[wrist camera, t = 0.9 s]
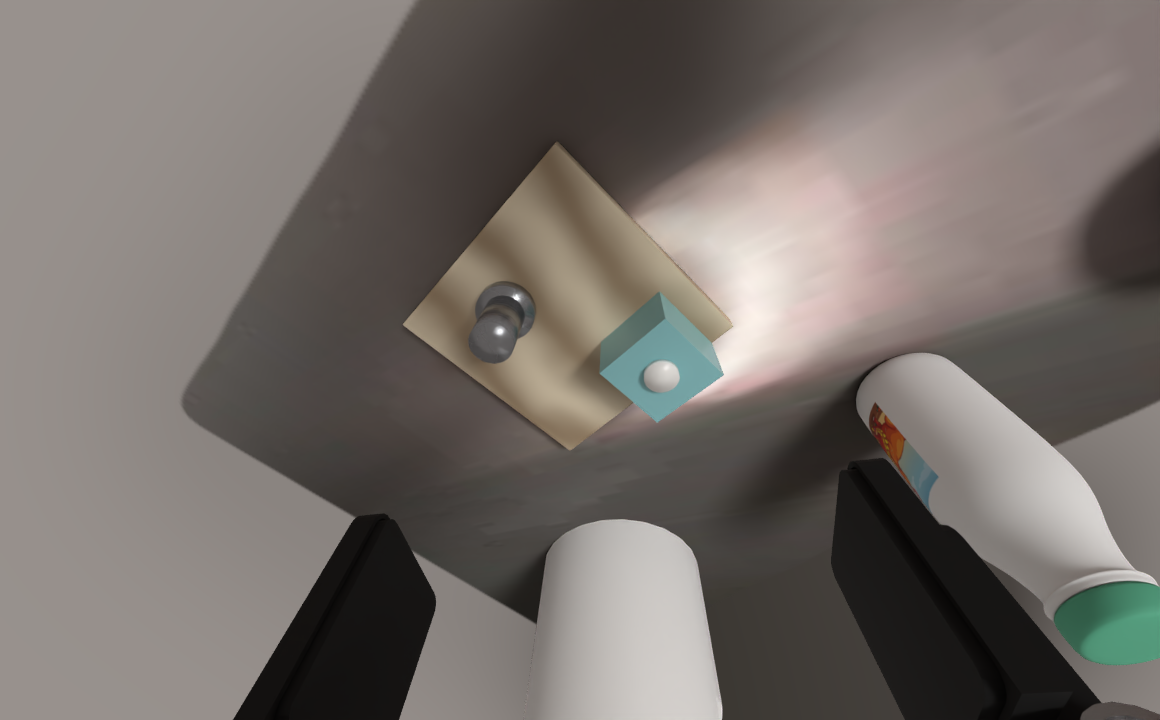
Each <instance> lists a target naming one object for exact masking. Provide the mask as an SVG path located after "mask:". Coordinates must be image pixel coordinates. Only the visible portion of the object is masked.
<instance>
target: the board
mask: <svg viewBox="0 0 1160 720" xmlns="http://www.w3.org/2000/svg"><path fill="white" fill-rule="evenodd" d="M500 281H509V282H513V283H516V284H518V285H520V286H522V287H523V288H525V289H526V290H527V291H528V292H529V293H530V294H531V296H532V297H533V299H534V301H535V305H536V316H535V320H534V323H533V325H532V328H531V329H530V331H529V332H528V333H527V334H526V335H524V336H523V337H521V338H519V339H517V342H516V344H515V347H514V350H513V352H512V354H511V356H510V357H509V358H508V359H507V360H505V361H504V362H501V363H496V364H492V363H487V362H484V361H482V360H480V359H478V358H477V357H476V356H475V355H474V354H473V353H472V352H471V350H470V348H469V344H468V338H469V334H470V332H471V331H472V329H473V327H474V325H475V324H476V322H477V319H476V315H475V306H476V302H477V300H478V298H479V297H480V295H481V293H482V292H483V290H484V289H485V288H486V287H488V286H489V285H491V284H493V283H495V282H500ZM659 291H660V292H661V293H662V294H663V295H664V296H665V297H666V298H667V299H668V300H669V301H670V302H671V303H672V304H673V305H674V306H675V307H676V308H677V309H678V310H679V311H680V312H681V313H682V314H683V315H684V316H685V317H686V318H687V319H688V320H689V321H690V322H691V323H692V324H693V325H694V326H695V327H696V328H697V329H698V330H699V331H700V332H701V333H702V334H703V335H704V336H705V337H706V338H707V339H708V340H709V341H710V342H711V343H712V342H714V341H715V340H716V339H717V338H719V337H720V336H721V335H723V334H724V333H725V332H727V331H728V330H729V329H731V328H732V327H733V325H732V323H731V321H730V319H729V318H728V317H727V316H726V315H725V314H724V313H723V312H722V311H721V310H720V309H719V308H718V307H717V306H716V305H715V304H714V303H713V301H712V300H711V299H710V298H709V297H708V296H707V295H706V294H705V293H704V292H703V291H702V290H701V289H700V288H699V287H698V286H697V285H696V284H695V283H694V282H693V281H692V280H691V279H690V278H689V277H688V276H687V275H686V274H685V273H684V272H683V270H682V269H681V268H680V267H679V266H678V265H677V264H676V263H675V262H674V261H673V260H672V259H671V258H670V257H669V256H668V255H667V254H666V253H665V252H664V251H663V250H662V249H661V248H660V247H659V246H658V245H657V244H656V243H655V242H654V241H653V240H652V238H651V237H650V236H649V235H648V234H647V233H646V232H645V231H644V230H643V229H642V228H641V227H640V226H639V225H638V224H637V223H636V222H635V221H634V220H633V219H632V218H631V217H630V216H629V215H628V214H627V213H626V212H625V211H624V210H623V209H622V207H621V206H620V205H619V204H618V203H617V202H616V201H615V200H614V199H613V198H612V197H611V196H610V195H609V194H608V193H607V192H606V191H605V190H604V189H603V188H602V187H601V186H600V185H599V184H598V183H597V182H596V181H595V180H594V179H593V178H592V177H591V175H590V174H589V173H588V172H587V171H586V170H585V169H584V168H583V167H582V166H581V165H580V164H579V163H578V162H577V161H576V160H575V159H574V158H573V157H572V156H571V155H570V154H569V153H568V152H567V151H566V150H565V149H564V148H563V147H562V146H561V144H560V143H559V142H558V141H557V142H556V143H555V144H554V145H553V146H552V147H551V149H550V150H549V151H548V152H547V153H546V155H545V156H544V157H543V158H542V159H541V161H540V162H539V163H538V164H537V165H536V167H535V168H534V169H533V170H532V171H531V172H530V174H529V175H528V176H527V177H526V178H525V180H524V181H523V182H522V183H521V184H520V186H519V187H518V188H517V189H516V190H515V191H514V193H513V194H512V195H511V196H510V197H509V199H508V200H507V201H506V202H505V203H504V205H503V206H502V207H501V208H500V209H499V211H498V212H497V213H496V214H495V215H494V216H493V218H492V219H491V220H490V221H489V222H488V224H487V225H486V226H485V227H484V228H483V230H482V231H481V232H480V233H479V234H478V235H477V237H476V238H475V239H474V240H473V241H472V243H471V244H470V245H469V246H468V247H467V249H466V250H465V251H464V252H463V253H462V255H461V256H460V257H459V258H458V259H457V260H456V262H455V263H454V264H453V265H452V266H451V268H450V269H449V270H448V271H447V272H446V274H445V275H444V276H443V277H442V278H441V279H440V281H439V282H438V283H437V284H436V285H435V287H434V288H433V289H432V290H431V291H430V293H429V294H428V295H427V296H426V297H425V299H424V300H423V301H422V302H421V303H420V304H419V306H418V307H417V308H416V309H415V310H414V312H413V313H412V314H411V315H410V316H409V318H408V319H407V320H406V321H405V322H404V323H403V326H405V327H406V328H407V329H409V330H410V331H411V332H413V333H414V334H415V335H417V336H418V337H419V338H421V339H422V340H423V341H425V342H426V343H427V344H429V345H430V346H431V347H433V348H434V349H435V350H437V351H438V352H439V353H441V354H442V355H443V356H445V357H446V358H447V359H449V360H450V361H451V362H453V363H454V364H455V365H457V366H458V367H459V368H461V369H462V370H463V371H465V372H466V373H467V374H469V375H470V376H471V377H473V378H474V379H475V380H477V381H478V382H479V383H481V384H482V385H483V386H485V387H486V388H487V389H489V390H490V391H491V392H493V393H494V394H495V395H497V396H498V397H499V398H501V399H502V400H503V401H505V402H506V403H507V404H509V405H510V406H511V407H513V408H514V409H515V410H516V411H518V412H519V413H520V414H522V415H523V416H524V417H526V418H527V419H528V420H530V421H531V422H532V423H534V424H535V425H536V426H538V427H539V428H540V429H542V430H543V431H544V432H546V433H547V434H548V435H550V436H551V437H552V438H554V439H555V440H556V441H558V442H559V443H560V444H562V445H563V446H564V447H566V448H567V449H568V450H572V449H573V448H574V447H576V446H577V445H578V444H580V443H581V442H582V441H584V440H585V439H586V438H587V437H589V436H590V435H591V434H593V433H594V432H595V431H597V430H598V429H599V428H601V427H602V426H603V425H605V424H606V423H607V422H608V421H610V420H611V419H612V418H614V417H615V416H616V415H618V414H619V413H620V412H622V411H623V410H624V409H626V408H627V407H628V406H629V405H631V404H632V403H633V401H631V400H630V399H629V398H628V397H627V396H626V395H624V394H623V393H622V392H621V391H620V390H618V389H617V388H616V387H615V386H614V385H613V384H611V383H610V382H609V381H608V380H607V379H605V378H604V377H603V376H602V375H601V374H600V351H601V342H602V341H603V340H604V339H605V338H606V337H607V336H608V335H610V334H611V333H612V332H613V331H614V330H615V329H616V328H618V327H619V326H620V325H621V324H622V323H623V322H625V321H626V320H627V319H628V318H629V317H630V316H631V315H633V314H634V313H635V312H636V311H637V310H638V309H640V308H641V307H642V306H643V305H644V304H645V303H646V302H648V301H649V300H650V299H651V298H652V297H653V296H654V295H656V294H657V293H658V292H659Z"/></svg>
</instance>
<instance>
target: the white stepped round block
mask: <svg viewBox="0 0 1160 720" xmlns="http://www.w3.org/2000/svg"><path fill="white" fill-rule="evenodd" d="M523 720H722V703H721V697H720V691H719V685H718V680H717V674H716V668H715V662H714V657H713V651H712V645H711V640H710V634H709V628H708V622H707V617H706V611H705V605H704V599H703V594H702V588H701V582H700V576H699V571H698V565H697V561H696V559H695V557H694V554H693V552H692V550H691V549H690V548H689V547H688V546H687V545H686V544H685V542H684V541H683V540H682V539H681V538H679V537H678V536H676V535H674V534H673V533H671V532H669V531H667V530H666V529H664V528H661V527H658V526H655V525H652V524H649V523H646V522H639V521H632V520H624V519H620V520H601V521H597V522H593V523H588V524H584V525H581V526H579V527H577V528H575V529H572V530H570V531H568V532H566V533H565V534H563V535H562V536H561V537H560V538H559V539H558V540H556V541H555V542H554V543H553V545H552V546H551V548H550V550H549V551H548V553H547V555H546V562H545V569H544V576H543V583H542V591H541V598H540V605H539V612H538V619H537V626H536V634H535V641H534V648H533V655H532V662H531V669H530V677H529V683H528V691H527V698H526V705H525V712H524V719H523Z"/></svg>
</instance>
